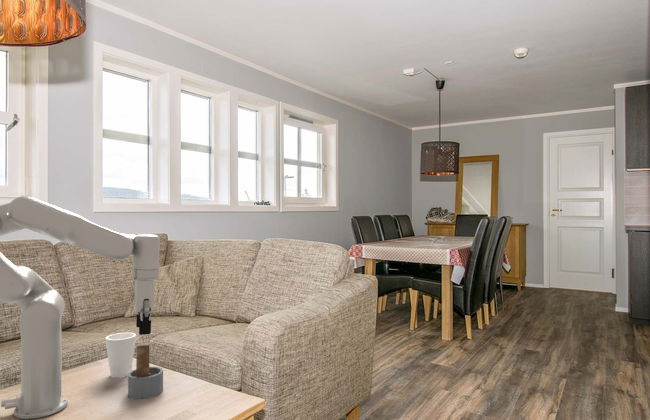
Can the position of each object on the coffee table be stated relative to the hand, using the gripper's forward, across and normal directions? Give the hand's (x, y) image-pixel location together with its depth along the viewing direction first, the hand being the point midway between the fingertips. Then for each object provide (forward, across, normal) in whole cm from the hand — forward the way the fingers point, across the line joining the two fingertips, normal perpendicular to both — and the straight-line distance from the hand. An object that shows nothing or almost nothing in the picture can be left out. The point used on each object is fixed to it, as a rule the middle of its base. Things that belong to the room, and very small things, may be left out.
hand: (143, 330), depth 133 cm
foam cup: (+19, -20, -5) cm, 28 cm away
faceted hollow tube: (+19, 0, +1) cm, 19 cm away
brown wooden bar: (+18, 0, +1) cm, 18 cm away
